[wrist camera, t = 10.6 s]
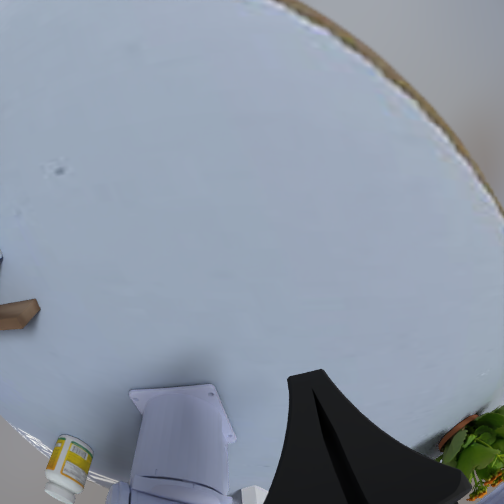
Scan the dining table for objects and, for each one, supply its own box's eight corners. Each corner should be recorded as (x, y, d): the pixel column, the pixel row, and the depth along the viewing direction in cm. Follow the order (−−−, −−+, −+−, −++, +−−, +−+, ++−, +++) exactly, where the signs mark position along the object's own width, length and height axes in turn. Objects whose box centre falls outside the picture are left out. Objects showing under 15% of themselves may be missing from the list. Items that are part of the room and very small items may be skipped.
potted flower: (398, 479, 38) (422, 538, 22) (399, 442, 30) (440, 530, 14) (489, 421, 36) (521, 468, 20) (515, 359, 28) (568, 418, 12)
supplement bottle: (88, 440, 25) (70, 499, 16) (98, 458, 27) (84, 511, 18) (54, 428, 24) (32, 482, 15) (65, 447, 26) (49, 497, 17)
